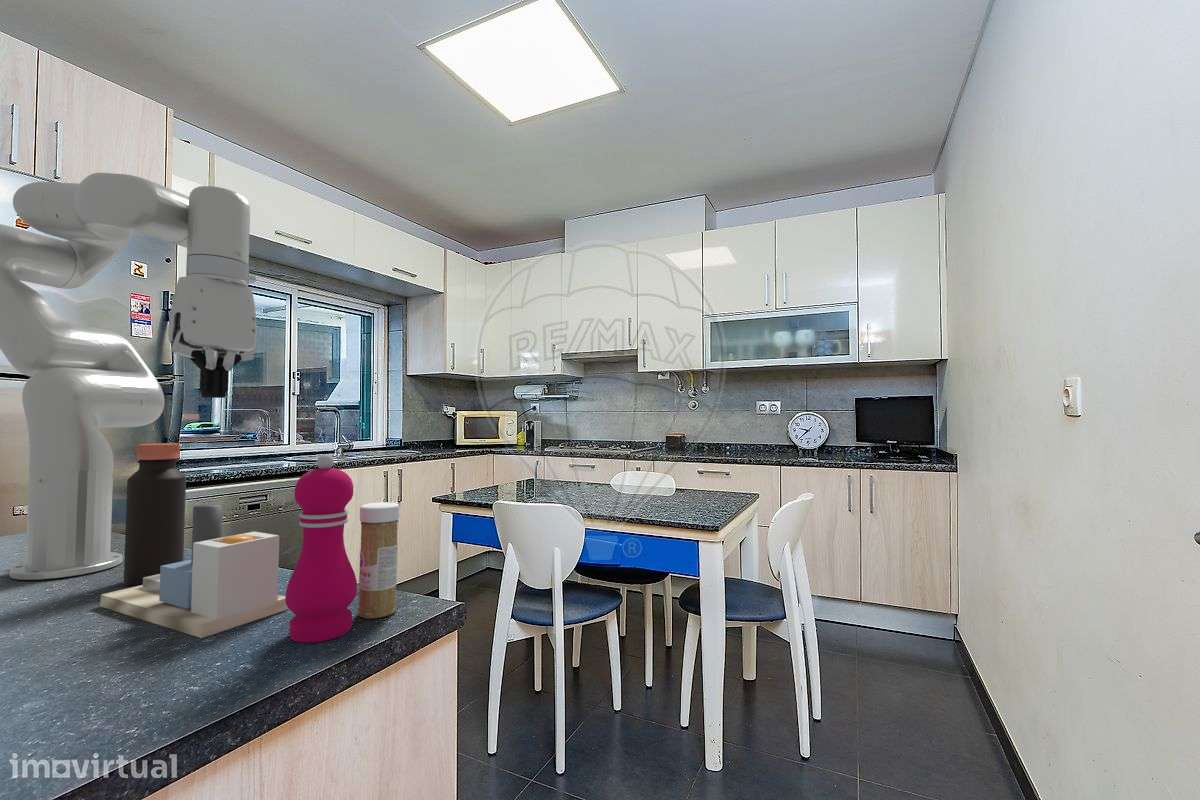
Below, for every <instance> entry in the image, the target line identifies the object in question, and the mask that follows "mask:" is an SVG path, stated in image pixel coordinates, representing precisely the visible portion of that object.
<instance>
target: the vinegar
mask: <svg viewBox="0 0 1200 800" xmlns="http://www.w3.org/2000/svg"><path fill="white" fill-rule="evenodd" d="M136 460H137V461H136V463H138V464H139V466H138V470H136V471H135V472H134V473H133V474H132V475H130V477H128V478H127V481H126V482H127V483H126V504H125V505H126V511H125V515H126V516H125V530H124V532H125V533H124V536H125V537H124V559H123V560H124V561H123V562H124V563H123V565H124V566H123V584H124V585H125V586H128V587H136V586H140V585H143V578H144V577H148V576H153V575H158V574H160V566H163V565H168V564H172V563H177V562H182V561H184V557H185V555H184V551H185V524H186V523H185V522H186V495H187V494H186V493H187V477H186V475H185V474H183V473H182V472H181V471H180V470H179V469H178V468H177V462H179V461H180V443H176V442H175V443H171V442H170V443H167V442H165V443H163V442H162V443H140V444H136Z"/></svg>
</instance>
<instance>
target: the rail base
mask: <svg viewBox="0 0 1200 800" xmlns="http://www.w3.org/2000/svg"><path fill="white" fill-rule="evenodd" d="M159 595H160V574H158V575H153V576H148V577H144V578H143V585H140V586H130V587H128V588H124V589H119V590H114V591H110V592H105V593H102V594H100V608H104V609H108V610H111V611H113V612H116V613H121V614H123V615H127V616H130V617H132V618H136V619H139V620H143V621H145V622H149V623H152V624H155V625H159V626H162V627H164V628H167V629H168V628H169V629H172V630H174V631H177V632H181V633H182V634H183V633H184V634H187V635H190V636H192V637H193V636H194V637H196V638H200V639H203V638H206V637H209V636H213V635H216V634H218V633H222V632H225V631H227V630H231V629H234V628H236V627H239V626H242V625H246V624H248V623H251V622H255V621H257V620H261V619H264V618H266V617H269V616H272V615H275V614H279V613H281V612H284V611H287V610H290V609H289V608H288V607H287V605H286V602H285V597H286V595H281V594H278V601H275V602H272V603H269V604H266V605H262V606H259V607H256V608H253V609H250V610H246V611H243V612H240V613H237V614H234V615H230V616H227V617H224V618H221V619H217V620H216V619H212V618H209V617H205V616H202V615H198V614H195V613H191V608H189V609H186V608H183V607H179V606H176V605H172V604H168V603H165V602H161V601H159Z"/></svg>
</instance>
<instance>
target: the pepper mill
mask: <svg viewBox="0 0 1200 800" xmlns="http://www.w3.org/2000/svg"><path fill="white" fill-rule="evenodd" d="M334 464H335V459H334V458H333V456H331V455H330V454H326V453H325V454H321V455H319V456H318V458H317V459H316V466H317V467H318V468H314V469H312V470H309V471H307V472H305V473H304V474H303V475H301V476H300V477H299V478H298V480H297V482H296V484H295V487H294V491H293V492H294V493H293V494H294V500H295V502H296V503H297V505H298V506H299V507H300V508H301V510H302V511H301V512H300V513H299V514H298V516H299V522H298V525H299V527H302V536H303V537H302V544H301V545H302V546H301V551H300V554H299V558H298V560H297V562H296V565H295V567H294V569H293V571H292V574H291V575H290V577H289V580H288V582H287V586H286V591H285V596H286V597H285V602H286V605H287V607H288V608H289V609H288V610H290V611H291V612H292V613H293V614H294V616H293V617H292V618H291V619H290V620H289V638H290V639H291V640H292V641H293V642H297V643H303V644H304V643H306V644H311V643H320V642H326V641H330V640H333V639H337V638H340V637H342V636H343V635H346V634H347V633H348V632H350V631H351V629H352V628H353V612H352V610H351V609H349V606H350V605H351V604H352V603H353V601H355V598H356V596H357V595H358V584H357V583H358V581H357V577H356V574H355V570H354V569H353V566H352V565H351V562H350V559H349V557H348V554H347V551H346V548H345V547H346V546H345V541H344V540H345V539H344V538H345V537H344V530H345V524H346V523H348V522H349V518H348V514H349V510H348V509H346V506H347V505H348V504H349V503H350V501H351V500H352V499H353V496H354V484H353V481H352V478H351V477H350V476H349V474H348V473H347V472H346V471H343V470H341V469H337V468H334V467H333V466H334Z"/></svg>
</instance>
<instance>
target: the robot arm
mask: <svg viewBox="0 0 1200 800" xmlns="http://www.w3.org/2000/svg"><path fill="white" fill-rule="evenodd" d="M12 206H13V210H14V211H15V213H16V214H17V216H18V217H19V219H20V220H22V222H24V223H25V224H26V225H27V226H29V227H31V228H32V229H34V230H36V231H38V232H39V233H43V234H46V235H42V234H39V233H36V232H33V231H28V230H24V229H21V228H18V227H17V228H16V227H15V226H9V225H6V224H1V223H0V350H1V352H2V353H3V355H4V356H5V358H6V359H7V361H8V362H9V363H10V365H11V366H12V367H13V368H14V369H15V370H16V371H17V372H19V373H20V374H22V375H24V376H27V377H29V378H28V380H27V381H26V382H25V384H24V386H23V388H22V393H21V395H22V398H21V401H22V406H23V411H24V414H25V415H24V416H25V420H26V425H27V431H28V440H29V441H28V442H29V443H28V445H29V448H28V449H29V458H28V460H29V461H28V462H29V463H28V471H29V472H28V491H27V514H26V516H27V518H26V537H25V539H26V540H25V558H24V559H25V561H24V562H23V563H20V564H17V565H14V566H13V567H11V568H10V569H9V574H8V575H9V578H11V579H13V580H19V581H21V580H22V581H37V580H38V581H39V580H40V581H41V580H52V579H59V578H69V577H75V576H81V575H86V574H91V573H95V572H100V571H104V570H108V569H110V568H113V567H116V566H119V565H120V564H121V563H122V562H124V561H123V560H124V559H123V557H124V556H123V554H122V553H119V552H114V551H111V542H112V540H111V539H112V537H111V536H112V518H113V517H112V514H113V513H112V512H113V490H114V487H113V486H114V485H113V484H114V482H113V481H114V454H113V450H112V448H111V445H110V444H109V442H108V440H107V438H106V437H105V435H103V433H102V431H100V429H103V428H109V429H110V428H111V429H112V428H137V427H143V426H147V425H150V424H153V423H154V422H156V420H158V419H159V418H160V417H161V415H162V414H163V412H164V408H165V394H164V392H163V389H162V388H163V387H162V386H161V384H160V383H159V381H158V380H157V378H156V376H155V375H154V374H153V372H152V371H151V369H150V368H149V367H148V365H147V364H146V362H145V361H144V359H143V358H142V357H141V355H140V354H139V353H138V352H137V350H136V348H135V347H134V346H133V345H132V344H131V343H130V341H129V340H127V339H126V338H125V337H123V336H122V335H121V334H119V333H117V332H114V331H112V330H108V329H104V328H99V327H92V326H87V325H81V324H75V323H71V322H68V321H65V320H64V319H63V318H62V317H61V316H60V315H59V314H58V313H57V311H56V310H55V309H54V308H53V306H52V304H51V303H50V302H49V301H48V299H46V298H45V297H44V296H43V295H42V294H40V293H39V292H38V291H36V290H35V289H33V288H32V287H30V286H28V284H25V283H24V282H27V283H31V284H37V285H42V286H46V287H52V288H56V289H64V290H65V289H67V290H68V289H70V290H71V289H76V288H77V289H78V288H80V287H82V286H84V285H86V284H87V283H88V282H89V281H90V280H92V279H93V278H94V277H96V275H97V274H98V273H99V272H100V271H102V270H103V268H105V267H106V266H107V265H108V264H109V263H110V262H111V261H112V260H114V259H115V258H116V257H117V256H118V255H119V253H121V252H122V251H123V250H124V248H125V247H126V246H127V245H128V244H129V242H130V241H131V239H132V235H133V233H134V232H136V233H139V234H143V235H145V236H149V237H152V238H156V239H159V240H162V241H165V242H168V243H171V244H174V245H176V246H181V247H184V248H186V261H185V262H186V264H185V266H186V267H185V268H186V269H185V272H186V273H185V276H180V277H179V278H178V280H177V281H176V282H177V283H176V287H175V289H174V294H173V297H172V302H171V308H170V313H169V320H168V329H167V331H168V332H167V333H168V334H167V336H168V341H169V343H170V344H172V347H171V352H172V353H174V354H176V355H180V356H182V357H186V358H189V360H190V361H191V362H192V363H194V364H195V366H196V370H198V371H199V373H200V375H199V391H200V392H201V397H202V398H204V399H205V398H207V399H208V398H211V399H219V398H221V399H223V398H226V396H227V392H228V389H229V372H231V371H232V370H233V369H234V367H235V366H236V365H237V364H238V363H240V362H247V361H252V360H254V359H255V354H254V349H255V348H256V346H257V330H258V329H257V310H256V305H255V304H256V303H255V297H254V293H253V290H252V287H249V285H250V284H255V283H256V279H257V277H256V275H254V274H251V273H250V268H249V265H250V264H249V263H250V262H249V259H250V257H249V255H250V234H251V233H250V229H251V206H250V203H249V201H248V200H247V198H246V197H244V196H243V195H242V194H240V193H238V192H236V191H233V190H231V189H227V188H224V187H219V186H214V185H213V186H211V185H200V186H197V187H195V188H193V189H192V190H191V191H190V193H189V195H185V194H184V193H181V192H178V191H176V190H173V189H171V188H169V187H166V186H163V185H162V184H159V183H157V182H154V181H152V180H149V179H146V178H142V177H140V176H136V175H132V174H126V173H114V172H94V173H91V174H89V175H87V176H85V177H84V179H83V180H82V181H80V182H79V183H77V182H76V183H74V182H61V181H60V182H59V181H34V182H30V183H26V184H24V185H22V186H21V187H19V188H18V189H17V190H16V191H15V193H14V194H13V198H12ZM47 235H49V236H47ZM50 236H51V237H50ZM54 237H55V238H54ZM57 238H60V239H57ZM61 239H63V240H61ZM215 352H216V354H215ZM237 352H238V353H237Z"/></svg>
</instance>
